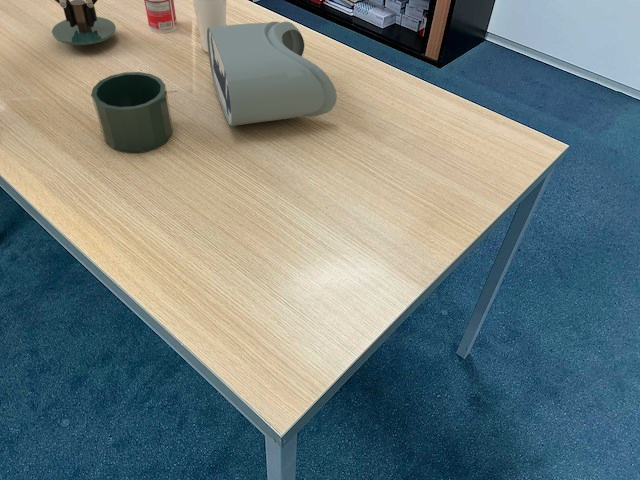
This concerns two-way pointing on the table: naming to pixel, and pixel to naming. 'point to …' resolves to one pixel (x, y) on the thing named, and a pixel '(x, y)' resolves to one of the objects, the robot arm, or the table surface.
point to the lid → (83, 27)
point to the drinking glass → (209, 17)
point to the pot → (133, 111)
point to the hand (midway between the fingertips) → (82, 23)
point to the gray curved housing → (266, 73)
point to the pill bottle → (161, 15)
